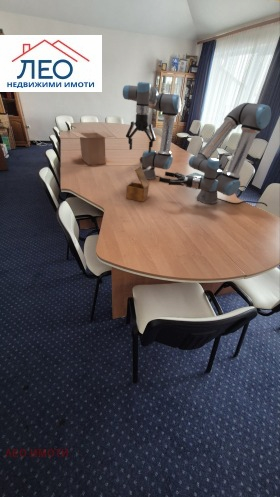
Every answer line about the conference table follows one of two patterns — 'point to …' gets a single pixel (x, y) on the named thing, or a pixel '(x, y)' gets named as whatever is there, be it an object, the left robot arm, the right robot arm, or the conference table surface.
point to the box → (92, 146)
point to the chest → (137, 192)
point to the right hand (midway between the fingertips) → (162, 176)
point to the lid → (142, 176)
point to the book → (196, 175)
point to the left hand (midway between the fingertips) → (140, 150)
